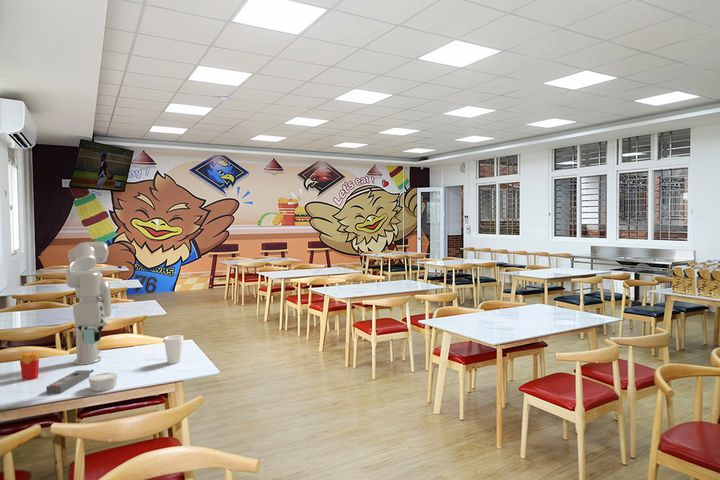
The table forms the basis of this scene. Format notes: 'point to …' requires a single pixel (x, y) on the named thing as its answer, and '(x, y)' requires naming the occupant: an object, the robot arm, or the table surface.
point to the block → (89, 337)
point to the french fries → (29, 365)
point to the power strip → (68, 381)
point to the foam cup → (173, 348)
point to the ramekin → (103, 381)
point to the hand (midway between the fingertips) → (91, 340)
